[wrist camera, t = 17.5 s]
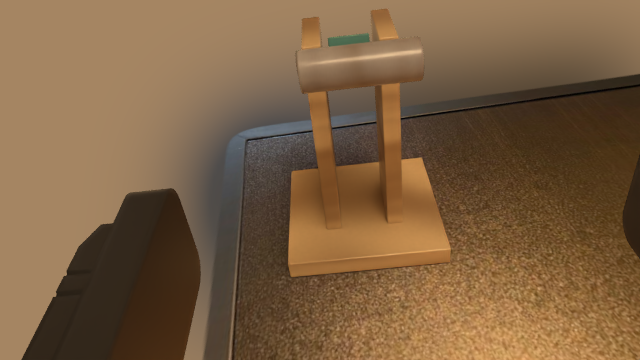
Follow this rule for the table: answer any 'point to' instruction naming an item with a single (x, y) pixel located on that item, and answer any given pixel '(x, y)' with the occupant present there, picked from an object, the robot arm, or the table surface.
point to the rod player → (360, 63)
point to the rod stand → (362, 192)
